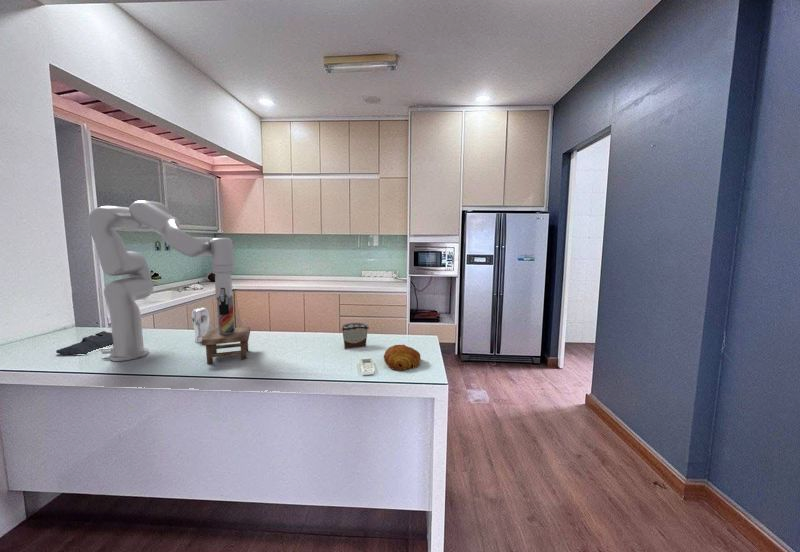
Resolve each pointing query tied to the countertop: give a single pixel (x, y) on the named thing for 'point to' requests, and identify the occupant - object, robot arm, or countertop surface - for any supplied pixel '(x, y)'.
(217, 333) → the walnut stool
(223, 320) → the lotion bottle
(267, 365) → the countertop surface
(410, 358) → the croissant
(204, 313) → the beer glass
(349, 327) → the food container
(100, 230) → the robot arm
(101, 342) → the dark slate chunk
